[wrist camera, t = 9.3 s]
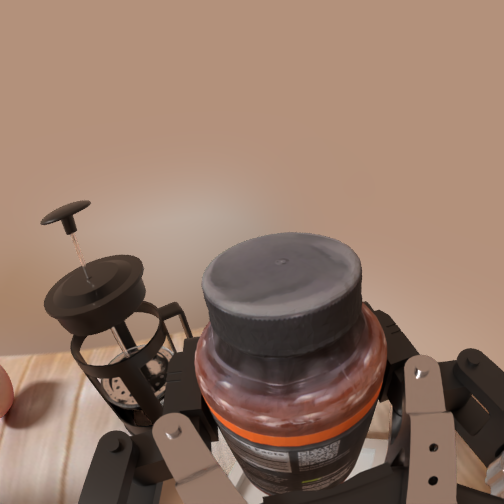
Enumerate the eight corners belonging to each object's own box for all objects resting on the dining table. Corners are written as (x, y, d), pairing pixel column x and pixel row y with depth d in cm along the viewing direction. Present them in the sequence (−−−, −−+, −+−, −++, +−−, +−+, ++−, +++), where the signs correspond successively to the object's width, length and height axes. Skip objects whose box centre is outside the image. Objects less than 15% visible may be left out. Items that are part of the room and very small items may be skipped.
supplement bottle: (299, 394, 16) (283, 207, 11) (379, 445, 11) (439, 244, 6) (218, 453, 13) (132, 271, 8) (296, 526, 8) (279, 409, 3)
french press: (131, 459, 21) (-15, 253, 11) (112, 398, 29) (17, 220, 19) (231, 414, 26) (157, 184, 16) (195, 362, 34) (134, 174, 24)
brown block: (114, 499, 16) (99, 491, 15) (144, 459, 21) (133, 448, 20) (194, 546, 13) (183, 544, 12) (225, 496, 18) (217, 489, 17)
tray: (204, 530, 14) (197, 527, 14) (260, 428, 24) (257, 419, 23) (349, 566, 10) (353, 566, 9) (383, 448, 19) (388, 439, 18)
